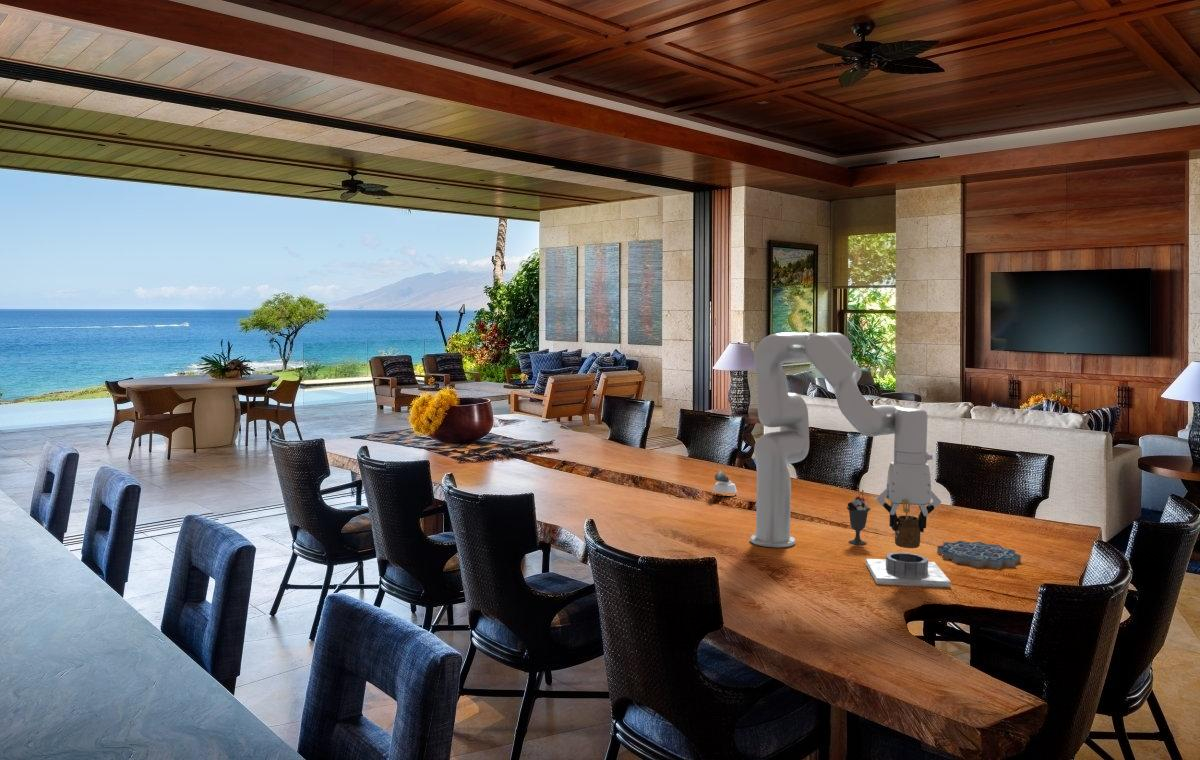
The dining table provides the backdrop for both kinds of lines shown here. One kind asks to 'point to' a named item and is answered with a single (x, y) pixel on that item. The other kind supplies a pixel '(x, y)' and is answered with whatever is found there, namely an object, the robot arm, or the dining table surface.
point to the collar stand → (907, 571)
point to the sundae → (858, 517)
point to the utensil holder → (907, 529)
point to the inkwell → (724, 484)
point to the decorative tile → (979, 554)
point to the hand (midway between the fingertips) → (907, 529)
